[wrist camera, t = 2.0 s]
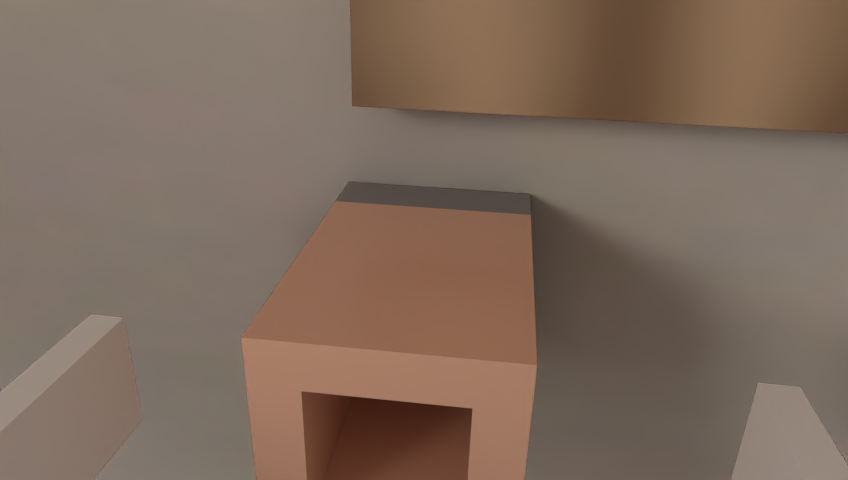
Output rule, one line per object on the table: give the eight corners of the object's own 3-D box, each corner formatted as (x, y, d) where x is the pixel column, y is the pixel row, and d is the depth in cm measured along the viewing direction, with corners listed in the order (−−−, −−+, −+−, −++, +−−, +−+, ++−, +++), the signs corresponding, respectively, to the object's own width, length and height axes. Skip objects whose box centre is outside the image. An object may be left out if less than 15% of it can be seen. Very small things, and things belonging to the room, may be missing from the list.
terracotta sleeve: (352, 334, 21) (263, 548, 13) (348, 182, 19) (240, 337, 11) (514, 349, 20) (512, 580, 13) (529, 194, 18) (537, 364, 11)
